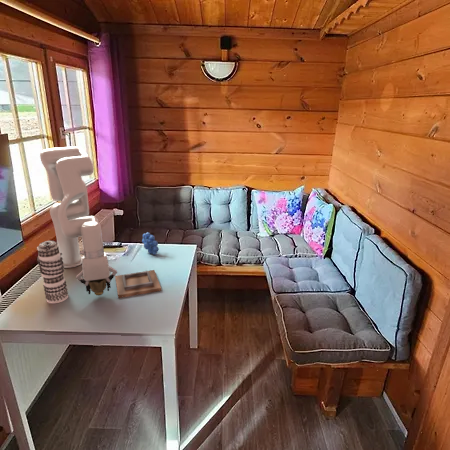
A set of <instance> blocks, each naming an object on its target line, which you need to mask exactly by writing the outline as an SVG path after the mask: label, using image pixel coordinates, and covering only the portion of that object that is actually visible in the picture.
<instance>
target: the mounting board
mask: <svg viewBox="0 0 450 450" xmlns="http://www.w3.org/2000/svg"><path fill="white" fill-rule="evenodd" d="M114 279H115V285H116V290H117V291H116V292H117V299H122V298H128V297H135V296H140V295H145V294H150V293H151V294H152V293H156V292H161V291H162V287H161V283H160V280H159V279H158V276H157V273H156V270H155V269H152V270H150V269H149V270H145V271H139V272H138V271H137V272H132V273H131V272H130V273H125V274H119V275H118V274H117V275H115V276H114Z"/></svg>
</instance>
